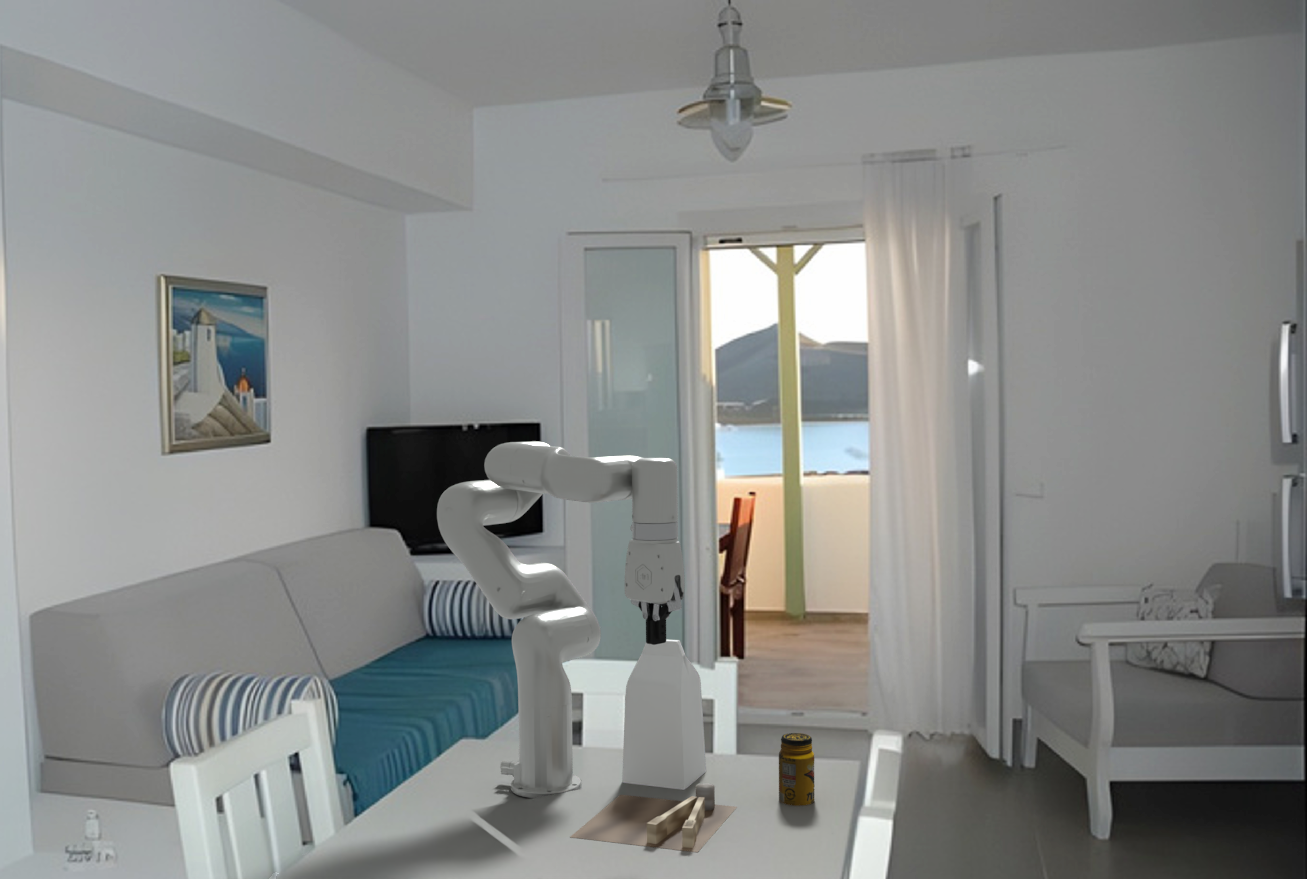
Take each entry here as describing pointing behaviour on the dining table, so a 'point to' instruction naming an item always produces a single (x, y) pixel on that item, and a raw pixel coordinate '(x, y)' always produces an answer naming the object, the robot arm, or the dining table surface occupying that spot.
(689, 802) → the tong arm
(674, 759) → the milk
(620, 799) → the board
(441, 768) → the dining table surface
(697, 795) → the beige long slender part
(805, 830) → the dining table surface
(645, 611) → the robot arm
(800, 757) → the condiment
